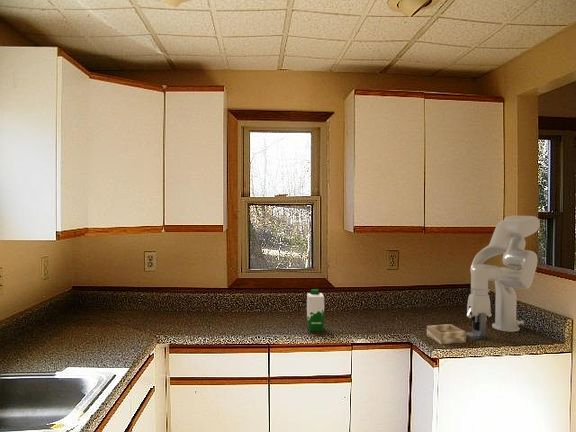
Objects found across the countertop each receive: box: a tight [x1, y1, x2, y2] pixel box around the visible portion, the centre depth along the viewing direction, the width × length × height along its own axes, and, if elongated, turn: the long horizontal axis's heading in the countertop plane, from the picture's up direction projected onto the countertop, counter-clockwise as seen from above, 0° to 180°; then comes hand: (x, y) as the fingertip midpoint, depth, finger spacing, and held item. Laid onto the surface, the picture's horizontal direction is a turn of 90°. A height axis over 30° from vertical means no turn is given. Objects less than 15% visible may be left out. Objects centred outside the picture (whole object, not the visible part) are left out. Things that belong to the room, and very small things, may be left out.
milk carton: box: [306, 288, 325, 332], centre depth 206 cm, size 9×9×20 cm
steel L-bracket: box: [466, 313, 487, 341], centre depth 193 cm, size 8×6×12 cm
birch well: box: [426, 323, 467, 345], centre depth 191 cm, size 13×12×5 cm
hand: (478, 329), depth 194 cm, fingers closed on steel L-bracket, 3 cm apart
